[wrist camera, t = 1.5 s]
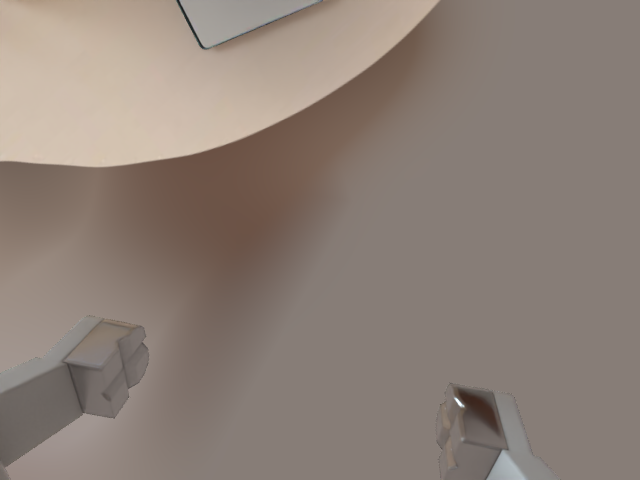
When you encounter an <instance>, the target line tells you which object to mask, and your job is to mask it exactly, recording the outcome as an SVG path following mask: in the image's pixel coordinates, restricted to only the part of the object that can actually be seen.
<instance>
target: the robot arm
mask: <svg viewBox="0 0 640 480" xmlns="http://www.w3.org/2000/svg"><path fill="white" fill-rule="evenodd" d="M145 337H146V334H145V330H144V327H142V326H138V325H134V324H130V323H125V322H120V321H115V320H111V319H104V318H100V317H95V316H90V315H89V316H86V317H84V318H82V319H81V320H80V321H79V322H78V323H77V324H76V325H75V326H74V327H73V328H72V329H71V330H70V331H69V332H68V333H67V334H66V335H65V336H64V337H63V338H62V339H61V340H60V341H59V342H58V343H57V344H56V345H55V346H54V347H53V348H52V349H51V350H50V351H49V352H48V353H47V354H46V355H45V356H44V357H43V358H34V359H31V360H29V361H27V362H25V363H22V364H20V365H18V366H15V367H13V368H11V369H8V370H6V371H4V372H2V373H0V480H11V479H10V477H9V475H8V473H7V471H6V469H5V467H6V466H8V465H10V464H11V463H12V462H14V461H15V460H17V459H18V458H20V457H21V456H23V455H24V454H25V453H27V452H29V451H30V450H32V449H33V448H35V447H36V446H38V445H39V444H41V443H42V442H43V441H45V440H46V439H48V438H49V437H51V436H52V435H54V434H55V433H57V432H58V431H60V430H61V429H63V428H64V427H66V426H67V425H69V424H70V423H72V422H73V421H75V420H76V419H77V418H79V417H80V416H82V415H83V413H86V414H92V415H97V416H103V417H109V418H115V417H116V416H117V414H118V413H119V411H120V410H121V408H122V407H123V405H124V404H125V402H126V401H127V399H128V398H129V391H128V389H129V388H131V387H132V386H135V385H136V384H138V383H139V382H140V380H141V378H142V377H143V375H144V374H145V371H146V368H147V366H148V361H149V352H148V348H147V347H146V346H145V345H144V344H143V342H142V341H143V340H144V339H145ZM445 399H446V401H445V402H444V403H442V404H440V407H439V410H438V413H437V419H436V439H437V443H438V445H439V446H440V448H441V449H442V452H441V455H440V457H439V468H440V478H441V480H561V479H560V478H559V477H558V476H557V475H556V474H555V473H554V472H553V471H552V469H551V468H550V467H549V466H548V465H547V464H546V463H545V462H544V461H543V460H542V459H541V458H540V457H538V456H534V455H533V452H532V449H531V446H530V443H529V440H528V437H527V434H526V431H525V428H524V425H523V422H522V419H521V416H520V412H519V410H518V407H517V404H516V400H515V397H514V396H513V395H512V394H509V393H503V392H498V391H493V390H487V389H482V388H476V387H470V386H465V385H459V384H453V383H450V384H449V385H448V386H447V388H446V391H445Z"/></svg>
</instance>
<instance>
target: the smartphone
mask: <svg viewBox="0 0 640 480" xmlns="http://www.w3.org/2000/svg"><path fill="white" fill-rule="evenodd" d="M176 1H177V3H178V5H179V7H180V9H181V11H182V13H183V15H184V17H185V19H186V21H187V23H188V25H189V26H190V28H191V30H192V32H193V34H194V36H195V38H196V40H197V42H198V44H199V46H200V47H201V48H202V49H209V48H212V47H214V46H217V45H219V44H221V43H224V42H226V41H228V40H231V39H233V38H236V37H238V36H240V35H243V34H245V33H248V32H250V31H252V30H255V29H257V28H259V27H262V26H264V25H267V24H269V23H271V22H274V21H276V20H278V19H281V18H283V17H286V16H288V15H290V14H293V13H295V12H298V11H300V10H302V9H305V8H307V7H309V6H312V5H314V4H317V3H319V2H321V1H323V0H176Z"/></svg>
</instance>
